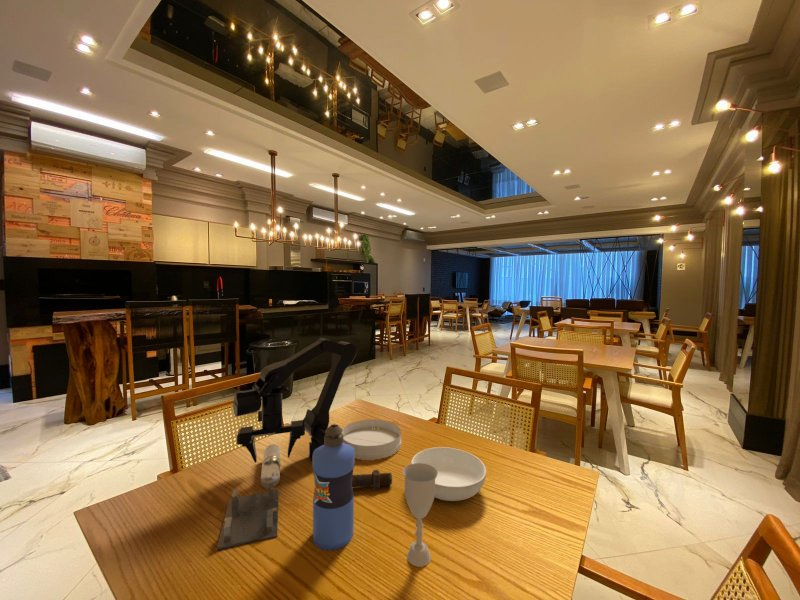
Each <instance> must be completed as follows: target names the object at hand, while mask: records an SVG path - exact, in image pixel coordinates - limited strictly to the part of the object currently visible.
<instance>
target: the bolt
mask: <svg viewBox="0 0 800 600" xmlns="http://www.w3.org/2000/svg"><path fill="white" fill-rule="evenodd" d="M392 474H393V473H391V472H383V473H381V472H380V471H379V469H373V471H372V472H371V473H364V474H363V473H361V474H359V473H358V474H353V477H352V488H353V489H354V488H366V487H367V488H369V487H371V488H372V489H373V490H374V491H375V490H376V491H377V490H379V489H380V488H381V486H384V487H386V486H391V485H393V475H392Z"/></svg>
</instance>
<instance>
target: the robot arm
mask: <svg viewBox="0 0 800 600" xmlns="http://www.w3.org/2000/svg"><path fill="white" fill-rule="evenodd" d="M326 352H327V353H331V366H330V369H329V372H328V373H327V377H326V379H325V382H324V385H323V386H322V389H321V392H320V393H319V397H318V399H317V400H316V401H317V402H316V405H315V406H314V407H313V408H312V409H309V408H308V409H307V410H306V412H305V416H304V417H303V419H301V420H293V421H290V425H283V394H284V393H289V392H290V389H289V388H288V387H286V386H285V384H284V383H285V382H287V381H288V380H289V379H290V377H291V376H292V375H293V373H295V372H296V371H297V370H299V369H300V368H302V367H304V366H305V365H307V364H309V363H310V362H311V361H313V360H315V359H316V358H318V357H320V356H321V355H322V354H324V353H326ZM357 353H358V349H357V347H356V346H355V344H354V343H351V342H346V341H342V340H341V341H338V342H336V341H331V340H329V339H328V338H324V337H320V338H319V339H317V340H316V341H315V342H313V343H311V344H309V345H308V346H307V347H305V348H302V349H301V350H300V351H298V352H296V353H295V354H292V355H291V356H289V357H288V358H286V359H283V360H281V361H277V362H274V363H271V364H269V365H266V366H265V367H263V368H262V369H261V370H260V373H259V377H258V379H257V380H256V381H255V383H254V384H253V386H252V387H251V389H248V390H236V391H235V392H234V397H233V401H232V411H233V414H234V417H237V418H238V417H240V416H246V415H250V414H255V413H257V422H259V423H260V422H261V429H259V428H258V429H254V425H252V426H243V427H239V429H238V431H237V434H236V445H239V446H240V445H241V447H245V448H246V450H247V451H248V452H249V453H250V456H251V458H252V460H253V462H254V463H255V464H256V463H257V462H258V461H257V460H258V459H257V457H258V456H257V448H256V439H255V438H257V437H264V436H272V435H279V434H287V433H289V439H288V446H287V458H290V456H291V452H292V451H293V449H294V446H295V444H296V443H297V440H299V439H301V436H302V437H303V436H305V434H306V433H308V436H311V437H310V441H309V442H308V456H309V459H310V462H311V463H312V455H313V452H314V450H315V449H317V448H318V447H320V446H322V445H325V444H324V436H325V435H326V433H325V431H326V430H327V429H328V428H329V426H330V425H329V424H330V409H331V407H332V404H333V402H334V400H335V397H336V395H337V392H338V388H339V387H340V384H341V382H342V379H343V376H344V374H345V371H346V369H347V368H348V367H350V365H352V363H353V362H354V359H355V358H356V356H357Z"/></svg>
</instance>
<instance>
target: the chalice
mask: <svg viewBox="0 0 800 600" xmlns="http://www.w3.org/2000/svg"><path fill="white" fill-rule="evenodd" d="M437 474H438V472H437V470H436V469H435V468H434V467H432V466H430V465H427V464H422V463H415V464H411V463H410V464H408V465H405V467H403V469H402V475H403V478H404V496H405V500H406V503H407V506H408V508H409V510H410V511H411V514H412V516H413V517H415V518H416V519H417V520H416V523H415V527H416V531H415V532H414V536H416V540H415V541H413V542H412V543H411V545H410V546H409V549H408V552H407V553H406V559H407V561H408V562H409V564H410V565H412V566H415V567H417V568H423V567H426V566H428V564H430V563H431V560H432V554H431V553H430V550H429V548H428V545H427V544H426V543H425V542H424V541H423V540H422V537H424V532H423V530H422V529H423V528H424V523H423V520H422V519H424V518H426V516H427V515H428V513H429V511H430V510H431V508H432V505H433V503H434V500H435V479H436V477H437Z"/></svg>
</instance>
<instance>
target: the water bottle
mask: <svg viewBox="0 0 800 600" xmlns="http://www.w3.org/2000/svg"><path fill="white" fill-rule="evenodd" d="M342 429H343V428H341V427H340V426H339V425H338V424H336V423H333V424H330V425H328V429H327V430H326V431H325V433H326V435H325V436H324V444H325V445H322V446H320V447H318V448H317V449H315V450H314V452H313V455H312V462H311V463H312V467H311V468H312V473H313V477H314V478H313V480H314V493H313V499H312V542H313V543H314V545H315V546H316V548H318V549H320V550H324V551H336V550H339V549H342V548H343V547H346V546H347V545H348V544H350V542H351V541H352V539H353V537H354V531H355V530H354V524H355V523H354V520H355V519H354V516H355V515H354V512H355V511H354V509H355V507H354V505H355V504H354V503H355V502H354V501H355V500H354V499H355V497H354V488H353V487H352V477H353V475H354V468H355V464H356V462H355V460H356V459H355V450H354V448H353V447H352V446H351V445H348V444H345V443H343V434H342V431H343V430H342Z"/></svg>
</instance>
